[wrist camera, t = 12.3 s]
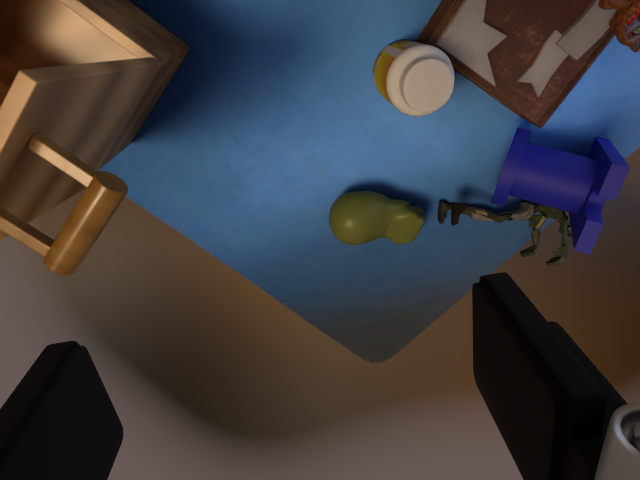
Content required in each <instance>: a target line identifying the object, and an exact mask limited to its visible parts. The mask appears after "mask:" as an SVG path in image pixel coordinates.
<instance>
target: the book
mask: <svg viewBox="0 0 640 480" xmlns="http://www.w3.org/2000/svg"><path fill="white" fill-rule="evenodd" d="M616 11H617V9H613V10H603V9H601V8H600V7H599V0H442V2H441V3H440V5H439V6H438V8H437V9H436V11H435V13H434V14H433V16H432V17H431V19H430V20H429V22H428V24H427V25H426V27H425V28H424V30H423V31H422V33H421V35H420V36H419V38H418V39H417V41H416V42H418V43H422V44H426V45H431V46H434V47H436V48H438V49H440V50H441V51H443V52H444V53H445V54H446V55H447V56H448V58H449V59H450V61H451V63H452V65H453V69H455V70H456V71H457V72H459V73H460V74H462V75H463V76H464V77H466V78H467V79H469V80H470V81H471V82H473V83H474V84H475V85H477V86H478V87H480V88H481V89H482V90H484V91H485V92H487V93H488V94H489V95H491V96H492V97H493V98H495V99H496V100H498V101H499V102H500V103H502V104H503V105H505V106H506V107H507V108H509V109H510V110H511V111H513V112H514V113H516V114H517V115H518V116H520V117H522V118H523V119H525V120H526V121H528V122H530V123H531V124H533V125H535V126H537V127H539V128H542V127H543V126H544V124H545V123H546V122H547V121H548V119H549V118H550V117H551V115H552V114H553V113H554V112H555V110H556V109H557V108H558V107H559V105H560V104H561V103H562V101H563V100H564V99H565V98H566V96H567V95H568V94H569V93H570V91H571V90H572V89H573V88H574V86H575V85H576V84H577V82H578V81H579V80H580V79H581V77H582V76H583V75H584V74H585V72H586V71H587V70H588V69H589V67H590V66H591V65H592V63H593V62H594V61H595V60H596V58H597V57H598V56H599V55H600V53H601V52H602V51H603V50H604V48H605V47H606V46H607V44H608V43H609V42H610V41H611V39H612V38H613V37H614V36H615V34H614V32H613V31H612V30H611V29H610V26H609V22H610V20H611V18H612V17H613V16H614V14H615V13H616Z"/></svg>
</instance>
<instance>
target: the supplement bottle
mask: <svg viewBox="0 0 640 480" xmlns="http://www.w3.org/2000/svg"><path fill="white" fill-rule="evenodd" d="M454 79H455V75H454V69H453V65H452V63H451V61H450V59H449V58H448V56H447V55H446V54H445V53H444V52H443V51H441V50H440V49H438V48H436V47H434V46H431V45H426V44H422V43H418V42H413V41H407V40H401V41H396V42H393V43H391V44H389V45H388V46H386V47H385V48H384V49H383V50H382V51H381V52H380V53H379V55H378V56H377V58H376V60H375V63H374V67H373V80H374V84H375V86H376V88H377V90H378V91H379V93H380V94H381V95H382V96H383V97H384V98H385V99H387V100H388V101H389V102H390V103H391V104H392V105H393V106H395V107H396V108H397V109H398V110H400V111H401V112H403V113H405V114H407V115H411V116H425V115H428V114H431V113H433V112H435V111H436V110H438V109H439V108H440V107H442V106H443V105H444V104H445V103H446V102H447V101H448V100H449V98H450V96H451V94H452V92H453V87H454Z"/></svg>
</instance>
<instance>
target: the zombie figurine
mask: <svg viewBox="0 0 640 480" xmlns="http://www.w3.org/2000/svg"><path fill="white" fill-rule="evenodd" d="M448 210H452V211H451V224H452V226H453V225H456V224H457V223H458V221H459V215H460V214H461V213H463V214H466V215H469V216H470V217H472V218H470V219H476V220H482V221H495V222H499V223H501V222H502V221H504V220H506V219H508V221H509V220H514V219H519V220H525V219H528V218H532V219H529V223H531V224H530V225H529V227H534V229H533V230H532V233H531V236H532V241H533V245H534V246H531V247H529V248H527V249H524V250H523V251H520V254H521V256H523V257H526V256H532V255H535V254H536V250H537V246H538V241H539V236H540V233H539V229H540V227H541V226H542V224H543V223H544V222H545V220H546V219H547V217H550V218H553V219H555V220H557V221H559V223H560V224H561V226H560V229H559V232H560V233H562V243H561V246H559V248H558V249H556V250H557V251H554V252H553V253H561V254H554V256H557V257H554V258H551V259H550V261H547V262H546V264H547V265H554V264H559V263H561V262H562V261H563V260H564V259H565V258H566V257H567V254H568V251H569V248H570V246H571V243H570V241H569V240H568V238H567V236H569V237H571V238H572V231H571V223H570V222H569V223H567V220H568V217H567V216H566V215H565V211H563V210H560V209H556V208H552V207H549V206H545V205H542V204H538V203H535V202H534V203H528V202H521V203H519V204H518V205H517V206H516V208H515V209H514V210H510V211H507V212H503V213H499V214H498V213H494V212H491V211H490V210H489V211H485V210H483V209H479V208H474V207H468V206H465V204H464V203H456V202H452V205H451V206H450V205H448V204H447V203H445V202H443V201H439V207H438V221H439V223H441V224H442V223H444V214H445V211H448ZM536 212H541V214H542V215H538V216H537V217H536V216H533V215H534V214H535V213H536ZM532 221H536V222H532Z"/></svg>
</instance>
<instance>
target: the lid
mask: <svg viewBox="0 0 640 480" xmlns="http://www.w3.org/2000/svg"><path fill="white" fill-rule="evenodd" d="M161 65H162V64H161V63H160V62H159V61H157V60H156V59H155V58H153V57H147V58H136V59H126V60H116V61H105V62H95V63H85V64H74V65H64V66H54V67H43V68H33V69H23V70H19V71H18V73H17V75H16V77H15V79H14V81H13V83H12V85H11V87H10V89H9V91H8V93H7V95H6V97H5V99H4V101H3V103H2V105H1V107H0V240H2V239H3V238H5V237H7V236H8V235H10V236H11V237H13V238H15V239H16V240H18V241H20V242H21V243H23V244H25V245H26V246H28V247H30V248H31V249H33V250H34V251H36V252H37V253H39V254H41V255H42V256H44V259H43V261H44V264H45V266H46V267H47V268H48V269H49V270H51V271H52V272H54V273H56V274H59V275H66V276H67V275H71V274H73V273H75V272H76V270H77V269H78V267H79V266H80V264H81V263H82V261H83V259H84V258H85V256H86V255H87V253H88V252H89V250H90V249H91V247H92V246H93V244H94V243H95V241H96V240H97V238H98V236H99V235H100V233H101V232H102V230H103V229H104V227H105V226H106V224H107V223H108V221H109V219H110V218H111V217H112V215H113V213H114V212H115V210H116V209H117V207H118V206H119V204H120V202H121V201H122V200H123V198H124V197H125V195H126V194H127V192H128V187H127V185H126V184H125V182H124V181H123V180H121V179H120V178H119V177H117V176H115V175H114V174H111V173H109V172H105V171H98V172H97V169H98V168H99V166H100V164H101V163H102V161H103V160H104V158H105V156H106V155H107V153H108V151H109V150H110V148H111V147H112V145H113V143H114V142H115V140H116V138H117V137H118V135H119V134H120V132H121V130H122V129H123V127H124V125H125V124H126V122H127V121H128V119H129V117H130V116H131V114H132V112H133V111H134V109H135V108H136V106H137V104H138V103H139V101H140V99H141V98H142V96H143V95H144V93H145V91H146V90H147V88H148V86H149V85H150V83H151V82H152V80H153V78H154V77H155V75H156V73H157V72H158V70H159V69H160V67H161ZM86 187H87V188H86ZM85 188H86V189H85ZM83 189H85V191H84V193H83V194H82V196H81V197H80V199H79V201H78V202H77V204H76V206H75V207H74V209H73V210H72V212H71V214H70V215H69V217H68V219H67V220H66V222H65V224H64V225H63V227H62V228H61V230H60V232H59V234H58V235H57V236H56V238H55V240H53V239H51V238H50V237H48V236H47V235H45V234H43V233H41V232H40V231H39V230H37V229H35V228H34V227H32V226H31V225H29V224H28V223H29V222H31V221H33V220H34V219H36V218H37V217H39V216H41V215H42V214H44V213H45V212H47V211H49V210H50V209H52V208H54V207H55V206H57V205H59V204H60V203H62V202H63V201H65V200H67V199H68V198H70V197H72V196H73V195H75V194H76V193H78V192H80V191H81V190H83Z"/></svg>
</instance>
